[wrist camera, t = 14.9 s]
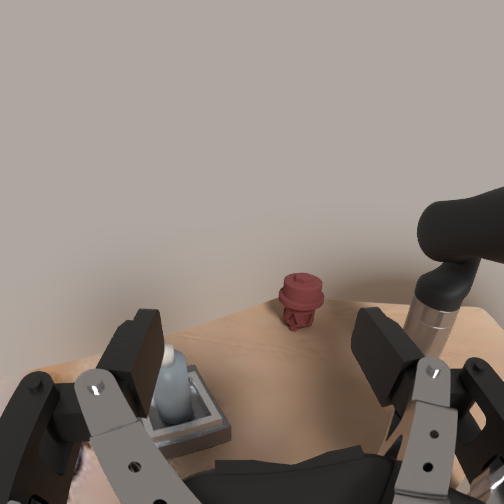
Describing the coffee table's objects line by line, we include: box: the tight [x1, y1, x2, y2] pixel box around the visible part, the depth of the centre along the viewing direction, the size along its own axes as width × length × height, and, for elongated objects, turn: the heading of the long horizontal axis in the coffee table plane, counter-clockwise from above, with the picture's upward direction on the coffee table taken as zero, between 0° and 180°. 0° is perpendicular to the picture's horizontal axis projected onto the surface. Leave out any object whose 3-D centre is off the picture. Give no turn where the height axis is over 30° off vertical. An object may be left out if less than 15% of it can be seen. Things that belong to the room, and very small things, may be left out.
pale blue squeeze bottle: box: [153, 342, 193, 424], centre depth 31 cm, size 5×5×12 cm
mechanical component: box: [279, 273, 324, 331], centre depth 60 cm, size 12×10×10 cm
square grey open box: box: [137, 365, 231, 460], centre depth 35 cm, size 12×14×6 cm
